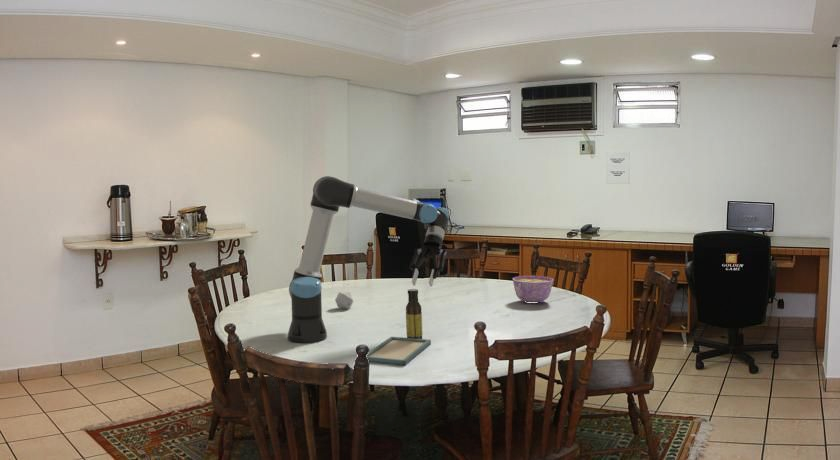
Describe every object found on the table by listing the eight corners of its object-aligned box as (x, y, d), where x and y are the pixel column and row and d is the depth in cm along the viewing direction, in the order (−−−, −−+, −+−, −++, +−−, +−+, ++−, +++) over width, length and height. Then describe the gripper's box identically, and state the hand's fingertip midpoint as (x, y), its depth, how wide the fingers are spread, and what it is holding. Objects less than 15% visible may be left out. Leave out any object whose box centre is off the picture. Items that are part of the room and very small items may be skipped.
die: (345, 312, 303) (356, 295, 305) (330, 303, 304) (341, 286, 306) (347, 315, 311) (358, 298, 313) (332, 305, 312) (343, 289, 314)
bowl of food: (508, 304, 314) (508, 281, 313) (516, 297, 333) (516, 274, 332) (550, 307, 308) (550, 283, 307) (555, 299, 326) (555, 276, 325)
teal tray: (391, 341, 250) (391, 336, 250) (430, 344, 245) (430, 339, 245) (361, 361, 224) (361, 356, 224) (404, 365, 219) (404, 360, 218)
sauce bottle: (422, 337, 255) (421, 287, 253) (423, 342, 248) (422, 291, 246) (405, 338, 254) (405, 288, 252) (406, 342, 248) (405, 291, 246)
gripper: (458, 245, 272) (447, 290, 258) (414, 244, 278) (401, 288, 264) (454, 234, 266) (443, 279, 252) (410, 232, 272) (396, 277, 259)
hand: (421, 284), depth 258 cm, fingers open, 6 cm apart
